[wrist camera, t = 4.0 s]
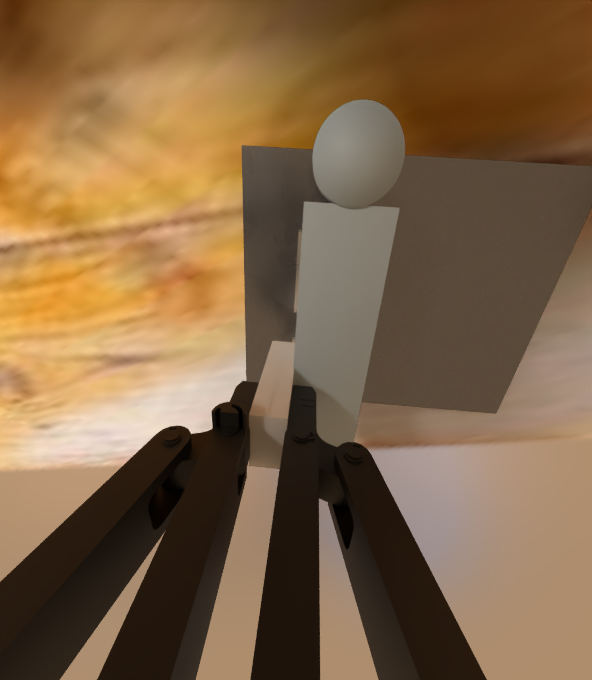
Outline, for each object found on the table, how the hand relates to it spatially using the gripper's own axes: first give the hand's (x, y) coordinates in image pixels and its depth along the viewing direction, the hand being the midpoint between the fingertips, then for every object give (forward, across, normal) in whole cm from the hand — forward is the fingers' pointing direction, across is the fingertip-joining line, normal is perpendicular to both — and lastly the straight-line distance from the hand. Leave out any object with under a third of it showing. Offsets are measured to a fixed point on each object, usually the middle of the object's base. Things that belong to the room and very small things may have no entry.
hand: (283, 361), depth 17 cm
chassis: (+7, +6, +3) cm, 10 cm away
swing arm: (0, +2, +3) cm, 4 cm away
